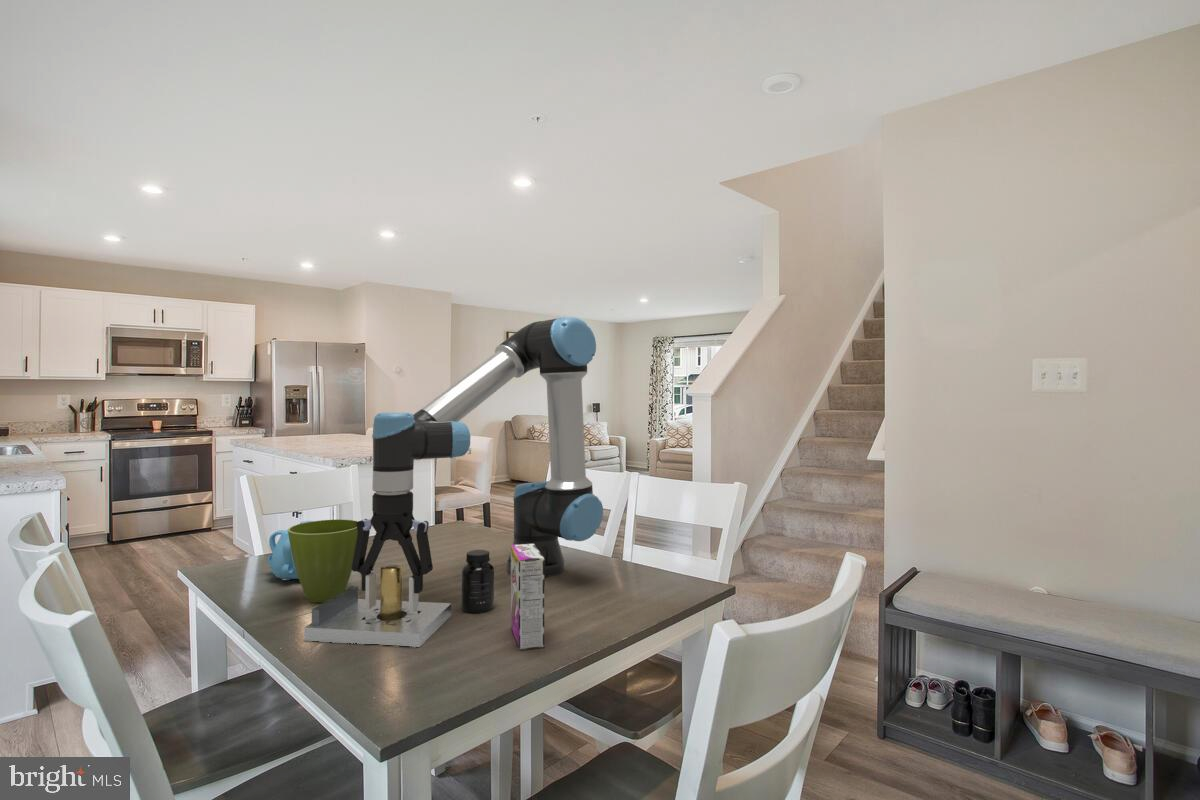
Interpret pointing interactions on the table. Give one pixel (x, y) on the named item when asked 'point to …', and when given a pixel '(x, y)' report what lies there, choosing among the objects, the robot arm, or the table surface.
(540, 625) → the candy bar box
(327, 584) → the flower pot
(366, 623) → the plate
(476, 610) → the supplement bottle
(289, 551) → the decorative pot
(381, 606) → the cylinder
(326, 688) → the table surface
